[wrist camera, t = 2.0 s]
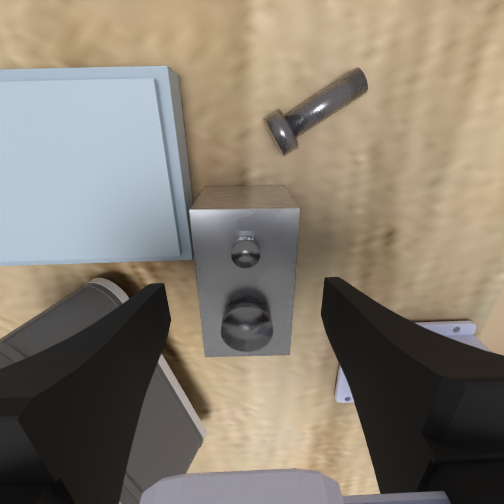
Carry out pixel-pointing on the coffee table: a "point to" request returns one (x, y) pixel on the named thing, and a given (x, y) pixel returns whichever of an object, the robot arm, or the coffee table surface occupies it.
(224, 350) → the block
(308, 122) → the bolt
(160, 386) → the camera
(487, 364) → the robot arm
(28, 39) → the coffee table surface
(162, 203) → the stand
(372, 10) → the coffee table surface
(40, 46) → the coffee table surface
